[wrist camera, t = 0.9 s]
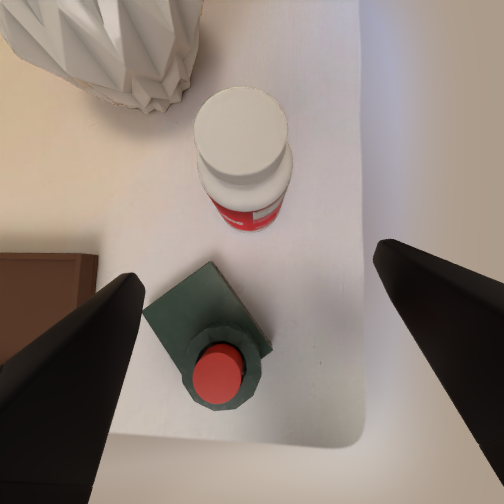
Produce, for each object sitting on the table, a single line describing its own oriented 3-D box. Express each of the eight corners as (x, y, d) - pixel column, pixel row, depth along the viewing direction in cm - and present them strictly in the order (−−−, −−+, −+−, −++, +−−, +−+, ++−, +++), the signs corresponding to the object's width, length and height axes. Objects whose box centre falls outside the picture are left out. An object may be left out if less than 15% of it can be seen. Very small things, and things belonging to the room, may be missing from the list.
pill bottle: (209, 195, 21) (155, 110, 10) (259, 165, 21) (260, 49, 10) (239, 245, 20) (217, 213, 9) (291, 214, 21) (328, 147, 10)
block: (280, 356, 19) (284, 372, 16) (212, 408, 19) (203, 433, 16) (212, 261, 20) (204, 259, 17) (147, 309, 20) (128, 315, 17)
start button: (251, 370, 17) (250, 384, 15) (216, 397, 17) (210, 414, 15) (226, 334, 17) (222, 342, 15) (192, 360, 17) (182, 371, 15)
